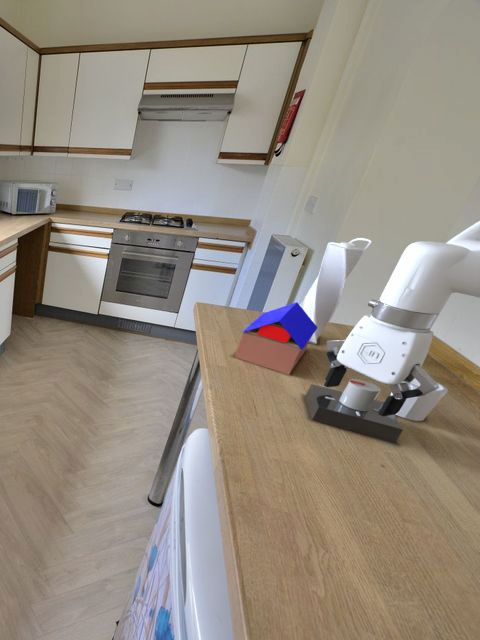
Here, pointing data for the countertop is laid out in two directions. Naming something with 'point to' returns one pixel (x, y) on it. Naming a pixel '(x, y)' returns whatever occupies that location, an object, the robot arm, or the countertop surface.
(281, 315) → the house
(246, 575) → the countertop surface
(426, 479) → the countertop surface
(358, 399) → the hob knob
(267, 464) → the countertop surface
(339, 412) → the hob panel
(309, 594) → the countertop surface
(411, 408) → the shot glass
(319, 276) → the skyscraper
